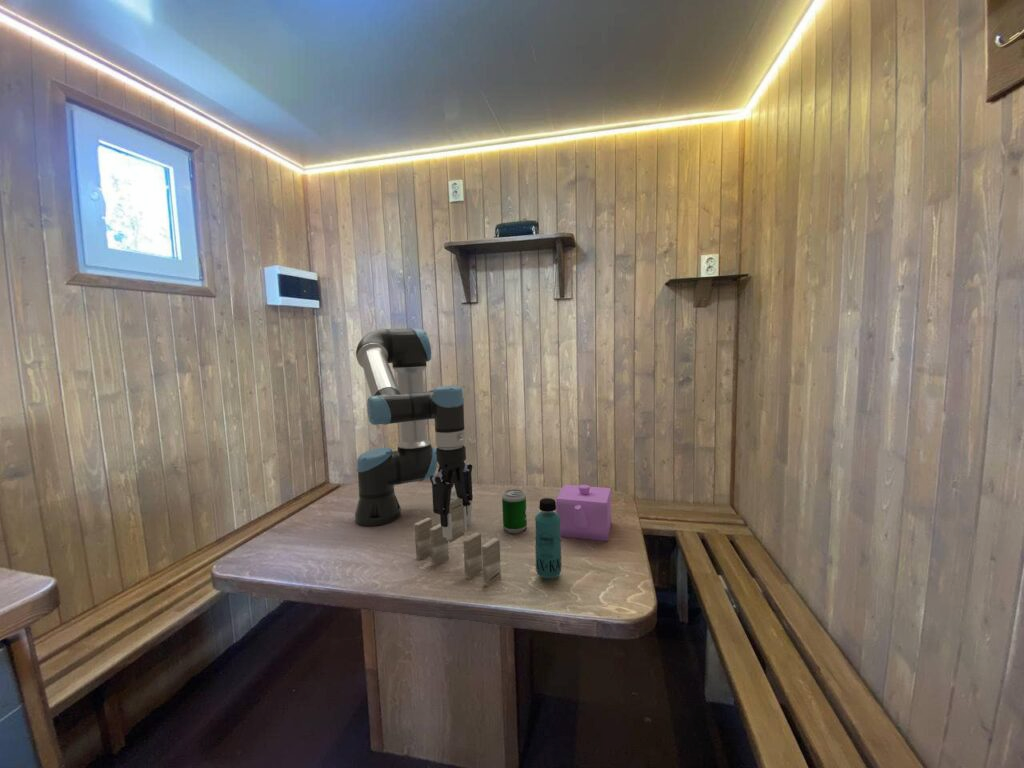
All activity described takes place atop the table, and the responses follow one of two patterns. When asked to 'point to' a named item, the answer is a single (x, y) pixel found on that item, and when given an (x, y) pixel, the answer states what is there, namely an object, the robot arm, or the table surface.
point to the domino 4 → (472, 555)
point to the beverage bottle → (548, 540)
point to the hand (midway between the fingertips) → (455, 533)
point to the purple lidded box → (584, 512)
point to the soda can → (514, 511)
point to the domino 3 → (456, 518)
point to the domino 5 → (491, 562)
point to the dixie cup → (469, 508)
